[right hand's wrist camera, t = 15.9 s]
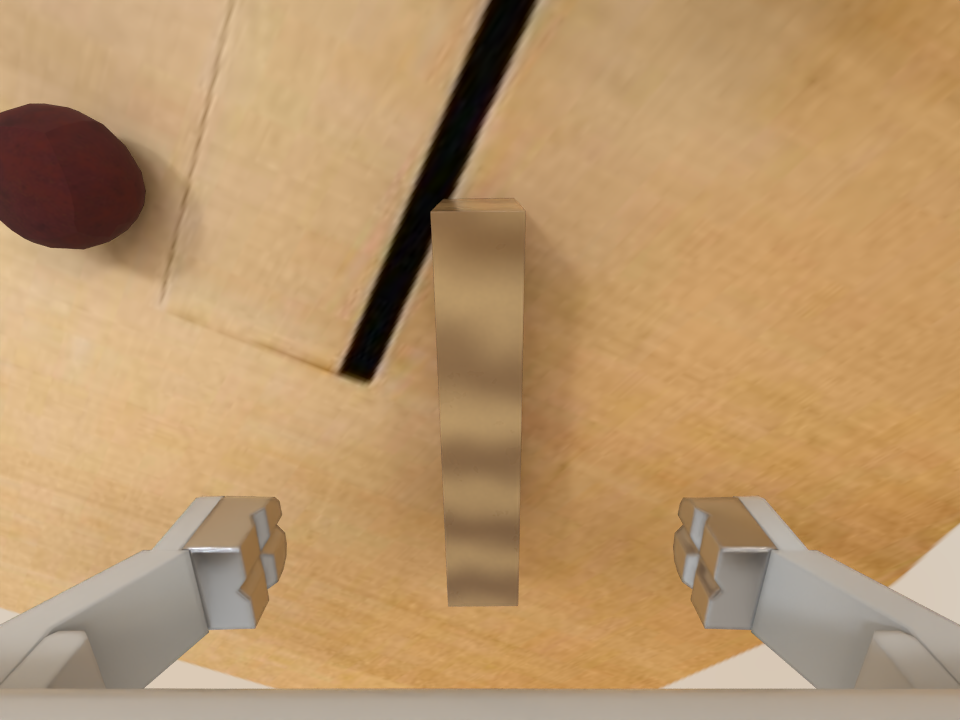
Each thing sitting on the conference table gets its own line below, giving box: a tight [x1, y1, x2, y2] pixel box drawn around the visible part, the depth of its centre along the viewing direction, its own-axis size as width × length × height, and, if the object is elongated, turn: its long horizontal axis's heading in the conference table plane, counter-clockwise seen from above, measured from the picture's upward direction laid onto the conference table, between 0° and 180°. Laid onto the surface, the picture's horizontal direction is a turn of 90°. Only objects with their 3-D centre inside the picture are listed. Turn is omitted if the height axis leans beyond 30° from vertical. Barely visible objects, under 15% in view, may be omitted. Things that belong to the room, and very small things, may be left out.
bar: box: [431, 198, 525, 606], centre depth 33 cm, size 25×5×9 cm, turn 1°
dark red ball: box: [0, 104, 145, 249], centre depth 29 cm, size 7×8×7 cm
